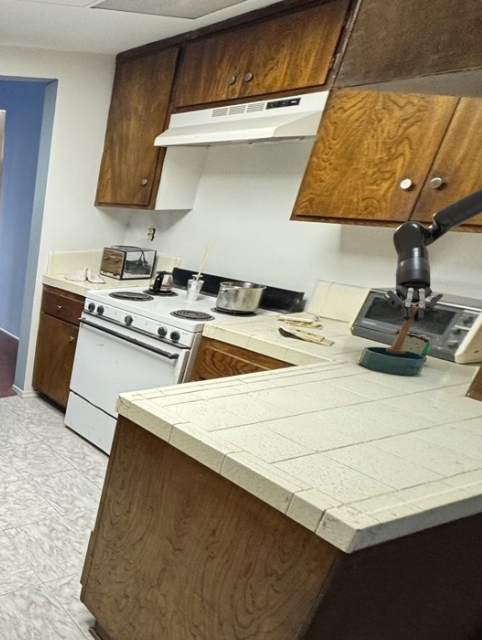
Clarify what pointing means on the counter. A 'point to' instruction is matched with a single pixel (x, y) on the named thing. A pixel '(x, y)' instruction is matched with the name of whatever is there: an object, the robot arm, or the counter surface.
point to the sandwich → (416, 341)
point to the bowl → (392, 361)
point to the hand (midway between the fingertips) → (412, 319)
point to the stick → (403, 333)
